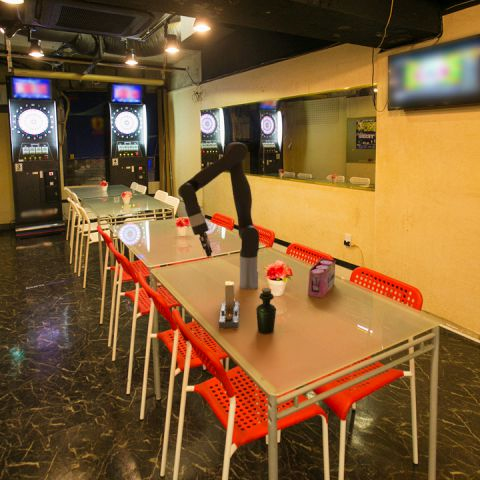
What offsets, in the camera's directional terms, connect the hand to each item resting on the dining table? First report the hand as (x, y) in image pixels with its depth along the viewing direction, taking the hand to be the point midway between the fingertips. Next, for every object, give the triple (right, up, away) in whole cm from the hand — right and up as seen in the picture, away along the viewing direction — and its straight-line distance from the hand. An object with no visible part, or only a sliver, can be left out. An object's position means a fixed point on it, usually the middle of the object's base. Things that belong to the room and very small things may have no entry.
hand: (210, 254), depth 203 cm
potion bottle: (+25, -30, -31) cm, 50 cm away
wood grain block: (+10, -24, -19) cm, 32 cm away
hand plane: (+10, -27, -18) cm, 34 cm away
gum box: (+57, -19, +16) cm, 62 cm away
